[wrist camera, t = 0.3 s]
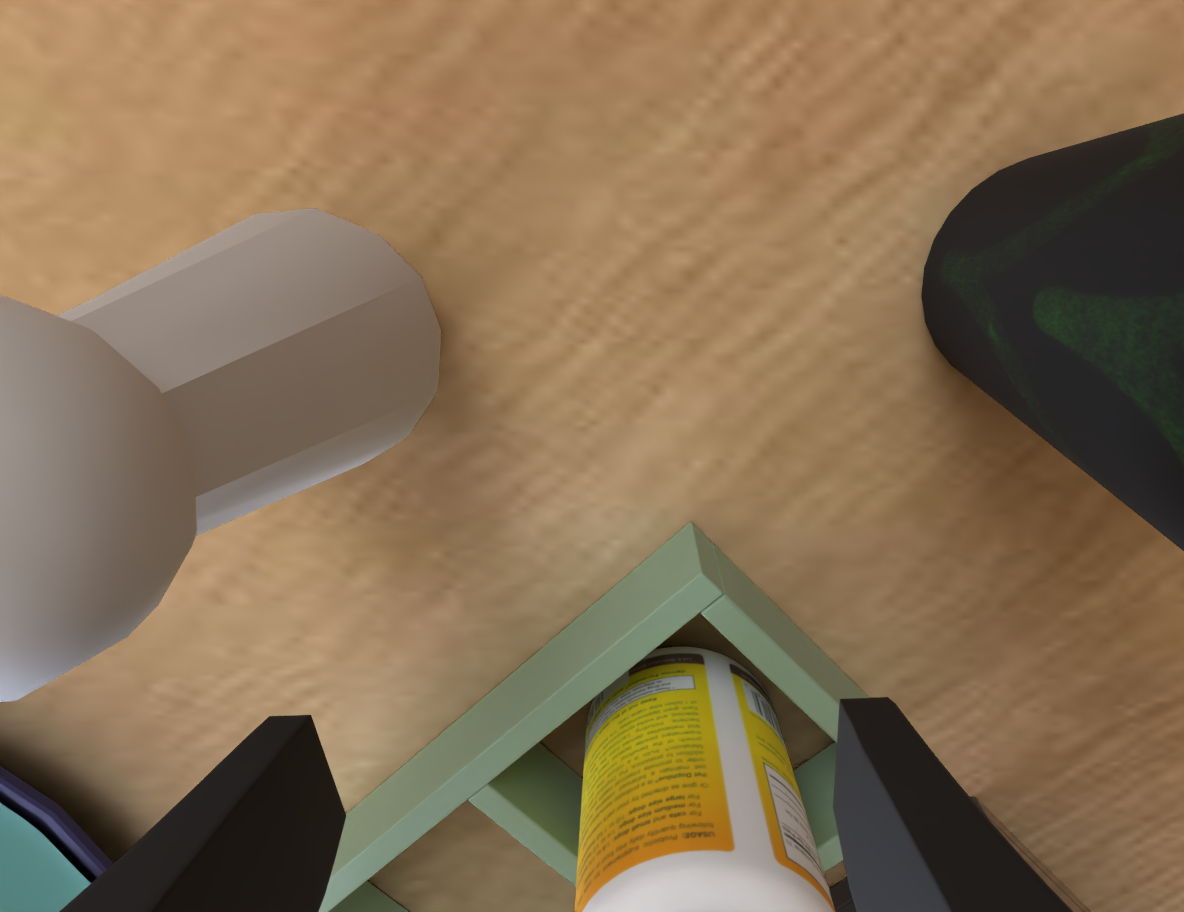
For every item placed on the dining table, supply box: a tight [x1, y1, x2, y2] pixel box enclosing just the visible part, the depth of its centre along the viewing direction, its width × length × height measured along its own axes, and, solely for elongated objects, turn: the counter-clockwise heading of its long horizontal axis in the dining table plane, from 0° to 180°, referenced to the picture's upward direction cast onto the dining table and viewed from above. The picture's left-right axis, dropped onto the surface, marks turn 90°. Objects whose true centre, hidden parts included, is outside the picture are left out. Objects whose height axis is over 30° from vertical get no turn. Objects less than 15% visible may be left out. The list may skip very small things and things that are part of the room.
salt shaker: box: [0, 208, 442, 702], centre depth 13 cm, size 6×6×13 cm
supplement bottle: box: [575, 647, 835, 912], centre depth 18 cm, size 6×6×10 cm
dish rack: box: [319, 522, 870, 912], centre depth 20 cm, size 17×9×7 cm, turn 135°
